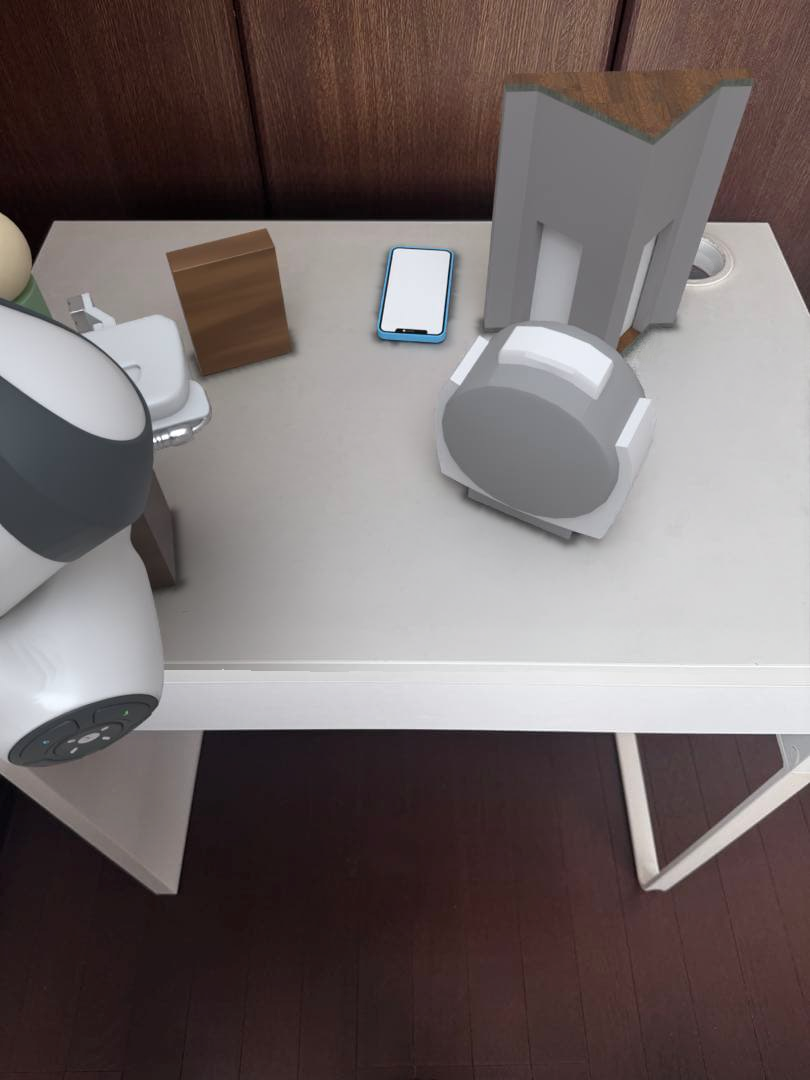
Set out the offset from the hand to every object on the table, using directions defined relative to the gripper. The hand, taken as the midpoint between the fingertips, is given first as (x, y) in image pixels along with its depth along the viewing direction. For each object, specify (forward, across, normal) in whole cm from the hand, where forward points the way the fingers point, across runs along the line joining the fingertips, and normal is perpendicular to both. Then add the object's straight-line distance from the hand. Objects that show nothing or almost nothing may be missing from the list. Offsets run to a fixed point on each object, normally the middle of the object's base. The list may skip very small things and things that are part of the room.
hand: (7, 321), depth 56 cm
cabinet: (+9, -51, +30) cm, 60 cm away
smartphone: (+24, -38, +30) cm, 54 cm away
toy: (+6, 0, +5) cm, 8 cm away
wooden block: (+22, -17, +30) cm, 41 cm away
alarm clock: (-7, -37, +30) cm, 48 cm away
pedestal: (+1, 0, +30) cm, 30 cm away
